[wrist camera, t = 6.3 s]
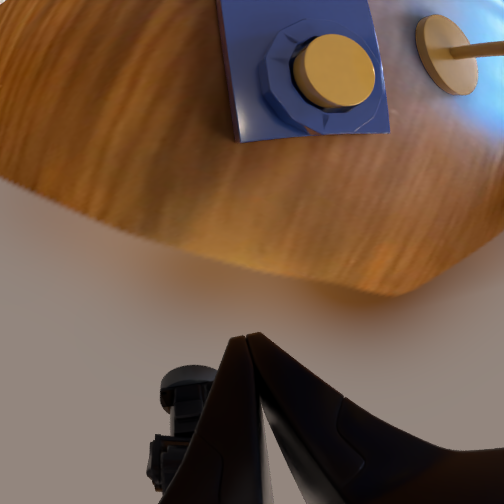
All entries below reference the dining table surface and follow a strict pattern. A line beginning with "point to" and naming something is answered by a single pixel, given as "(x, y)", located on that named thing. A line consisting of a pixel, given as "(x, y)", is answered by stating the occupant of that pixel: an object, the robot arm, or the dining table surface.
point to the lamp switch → (334, 72)
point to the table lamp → (451, 54)
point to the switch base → (281, 67)
